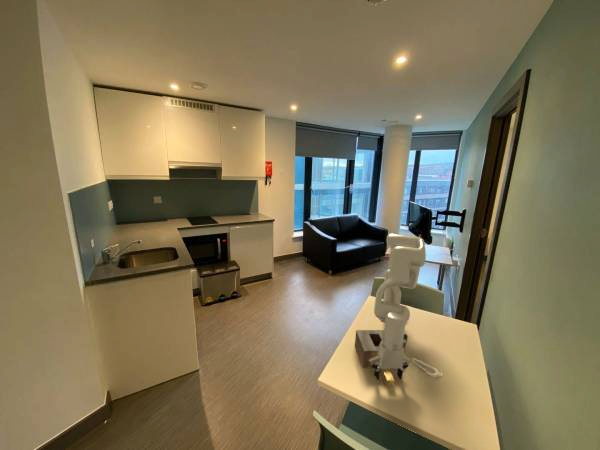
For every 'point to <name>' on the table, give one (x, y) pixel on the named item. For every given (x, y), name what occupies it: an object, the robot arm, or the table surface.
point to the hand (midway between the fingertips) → (387, 377)
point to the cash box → (368, 345)
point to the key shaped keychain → (428, 367)
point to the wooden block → (387, 378)
